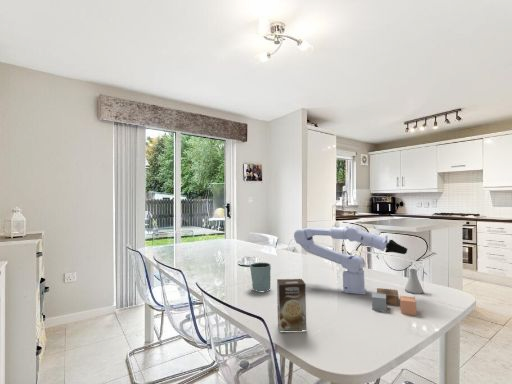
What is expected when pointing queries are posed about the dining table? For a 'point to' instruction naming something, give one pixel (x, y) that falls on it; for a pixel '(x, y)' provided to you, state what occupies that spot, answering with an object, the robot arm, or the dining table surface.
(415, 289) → the flask
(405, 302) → the terracotta block
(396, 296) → the walnut base block
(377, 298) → the slate grey block
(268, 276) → the grey green cup
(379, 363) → the dining table surface
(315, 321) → the dining table surface
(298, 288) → the coffee box
